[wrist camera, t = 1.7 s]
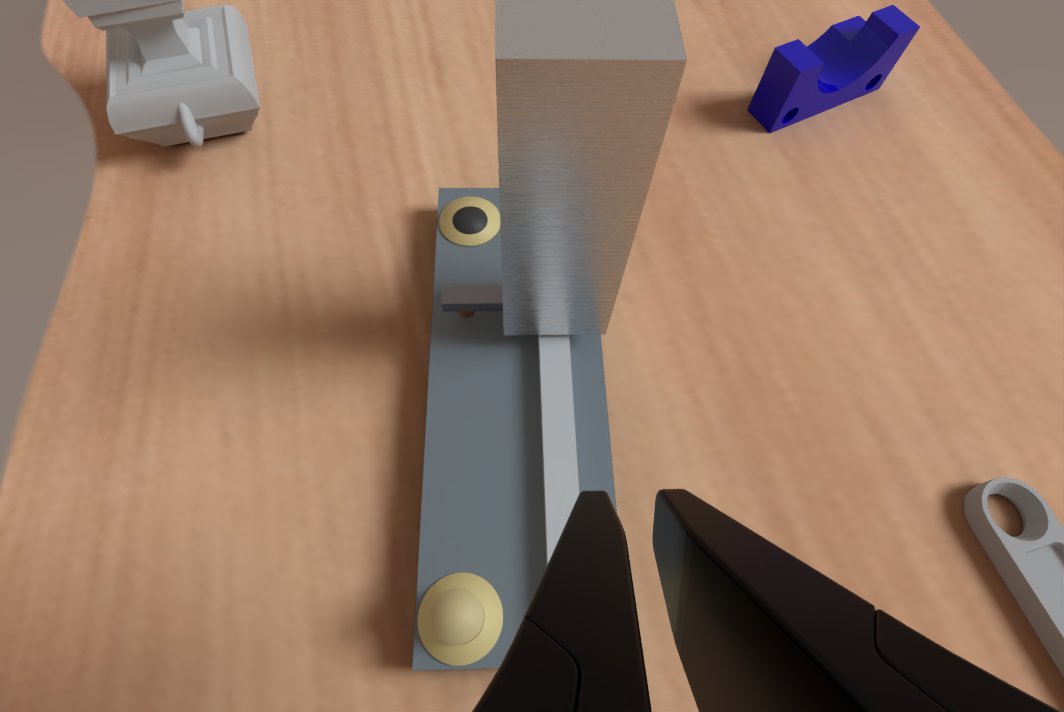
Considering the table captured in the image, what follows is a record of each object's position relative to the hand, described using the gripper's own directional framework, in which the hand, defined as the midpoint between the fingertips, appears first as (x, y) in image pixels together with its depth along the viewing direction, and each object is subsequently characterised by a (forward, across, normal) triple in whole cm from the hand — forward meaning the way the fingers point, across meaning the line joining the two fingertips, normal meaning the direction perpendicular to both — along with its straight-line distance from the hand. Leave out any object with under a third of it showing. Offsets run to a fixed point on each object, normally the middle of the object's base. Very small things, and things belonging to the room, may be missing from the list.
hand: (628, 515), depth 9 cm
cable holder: (+28, -15, -9) cm, 33 cm away
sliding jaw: (+16, +1, +1) cm, 16 cm away
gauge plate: (+15, +2, +4) cm, 16 cm away
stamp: (+27, +18, -7) cm, 33 cm away
